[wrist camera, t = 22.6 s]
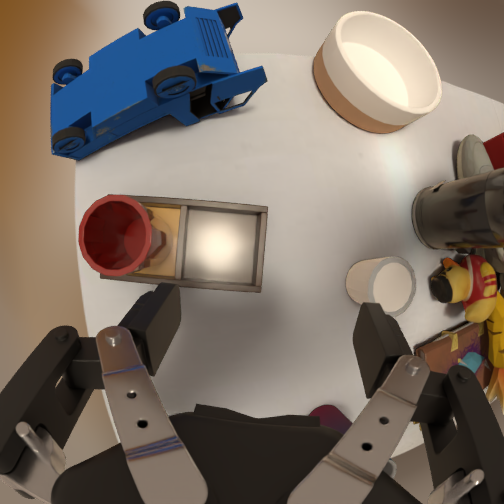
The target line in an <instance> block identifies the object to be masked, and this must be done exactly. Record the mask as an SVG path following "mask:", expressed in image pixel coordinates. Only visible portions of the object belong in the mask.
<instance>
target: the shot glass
mask: <svg viewBox="0 0 504 504" xmlns="http://www.w3.org/2000/svg"><path fill="white" fill-rule="evenodd" d="M346 289H347V292H348V295H349V296H350V297H351V298H352V299H353V300H354V301H356V302H357V303H359V304H361V305H362V303H363V302H371V303H380V304H381V306H382V308H383V310H384V313H385V314H389V315H390V316H391V317H396V316H398V315H400V314H401V313H403V312H404V311H405V310H406V309H407V308H408V307H409V305H410V304H411V302H412V300H413V297H414V294H415V289H416V279H415V275H414V271H413V269H412V267H411V266H410V265H409V263H408V262H407V261H405V260H404V259H402V258H400V257H384V258H377V259H370V260H363V261H360V262H358V263H356V264H354V265H353V266H352V268H351V269H350V270H349V272H348V275H347V277H346Z"/></svg>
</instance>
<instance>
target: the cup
mask: <svg viewBox="0 0 504 504" xmlns="http://www.w3.org/2000/svg"><path fill="white" fill-rule="evenodd" d="M309 416H320V425H324V426H327V427H330V428H332V429H335V430H337V431H339V432H340V433H342V434H345V433H346V432H347V431H348V429H349V428H350V427H351V425H352V424H353V423H352V422H351V421H350V420H349V419H348V418H347V417H345V416H344V415H343V414H342V413H341V412H340V411H339V410H338V409H337V408H336V407H335V406H332V405H323V406H320V407H318V408H316V409H315V410H313V411H312V412H311V413H310V415H309ZM383 470H384V471H385V472H386V473H387V474H388V475H389V476H390V477H391V478H394V476H395V474H396V470H397V466H396V464H395V462H394V461H392V460H391V459H389V460H388V462H387V464H386V465H385V467H384V468H383Z"/></svg>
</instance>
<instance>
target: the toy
mask: <svg viewBox="0 0 504 504" xmlns="http://www.w3.org/2000/svg"><path fill="white" fill-rule="evenodd" d="M443 265H444V267H445V270H444V271H443V272H441V273H440V275H439V276H434V277H432V278H431V281H432V283H431V288H432V291H433V294H434V295H435V297H436V298H437V299H438V301H440V302H442V303H456V302H460V301H462V304H463V307H464V310H465V319H466V320H468V321H471V322H474V323H480V322H483V321H485V320H486V319H487V318H488V317H489V316H490V314H491V313H492V311H493V310H494V308H495V305H496V301H497V278H496V274H495V271H494V269H493V267H492V266H491V265H490V264H489V263H488V262H487V261H486V260H485V259H484V258H483V257H482V256H480V255H475V254H468V255H466V256H465V257H464V258H463V260H462V261H461V263H460V265H459V264H458V263H457V262H454V261H453V260H452V259H451V258H448V257H447V258H445V259H444V261H443Z"/></svg>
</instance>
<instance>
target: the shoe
mask: <svg viewBox="0 0 504 504" xmlns="http://www.w3.org/2000/svg"><path fill="white" fill-rule="evenodd" d="M457 156H458V157H457V171H458V172H457V175H458V179H462V178H466V177H469V176H473V175H476V174H480V173H484V172H487V171H491V170H494V168H493V166H492V163H491V161H490V159H489V156H488V154H487V152H486V150H485V147H484V145H483V142H482V141H481V140H480V139H479V138H478V137H477V136H475V135H468V136H466V137H465V138H464V139H463V140H462V142H461V144H460V147H459V149H458V153H457ZM476 249H477V251H476V254H475V255H480V256H482V257H483V258H484V259H485V260H486V261H487V262H488V263H489V264H490V265H491V266H492V267H493V269H494V271H496V272H500V273H504V248H476ZM472 251H473V249H472Z"/></svg>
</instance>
